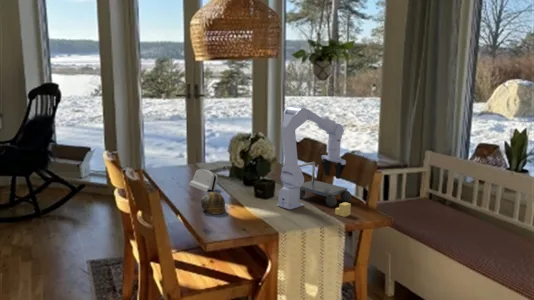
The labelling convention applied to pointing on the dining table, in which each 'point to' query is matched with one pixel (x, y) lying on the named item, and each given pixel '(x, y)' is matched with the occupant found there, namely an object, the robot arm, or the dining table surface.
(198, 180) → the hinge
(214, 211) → the seashell
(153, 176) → the dining table surface
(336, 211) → the yellow cube-like block
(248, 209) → the dining table surface
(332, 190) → the trolley
